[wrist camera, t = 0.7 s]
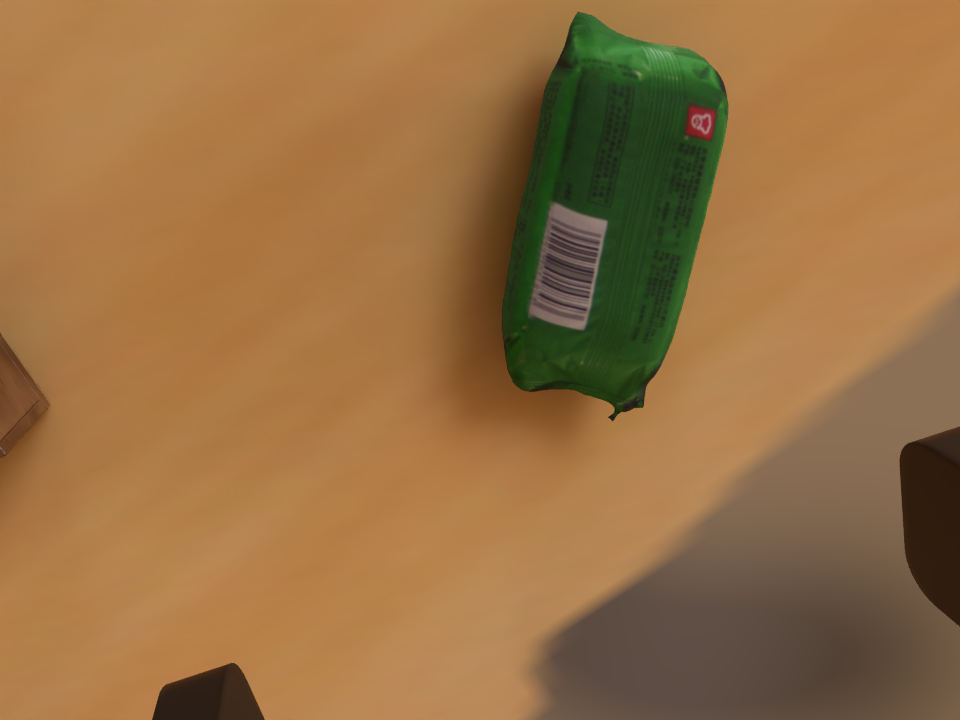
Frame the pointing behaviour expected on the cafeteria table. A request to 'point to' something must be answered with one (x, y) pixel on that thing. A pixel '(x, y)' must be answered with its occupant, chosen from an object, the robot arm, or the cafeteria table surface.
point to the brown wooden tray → (16, 399)
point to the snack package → (611, 214)
